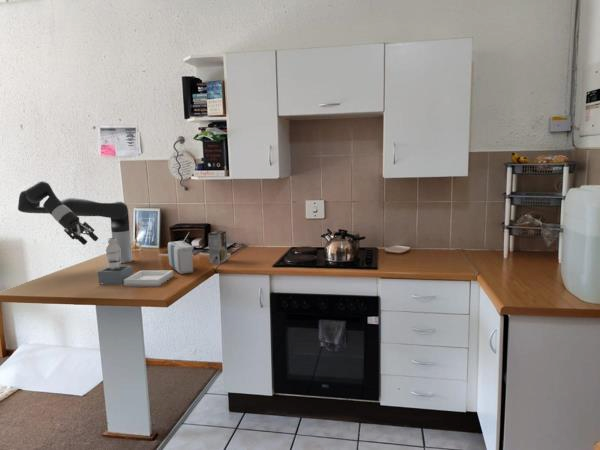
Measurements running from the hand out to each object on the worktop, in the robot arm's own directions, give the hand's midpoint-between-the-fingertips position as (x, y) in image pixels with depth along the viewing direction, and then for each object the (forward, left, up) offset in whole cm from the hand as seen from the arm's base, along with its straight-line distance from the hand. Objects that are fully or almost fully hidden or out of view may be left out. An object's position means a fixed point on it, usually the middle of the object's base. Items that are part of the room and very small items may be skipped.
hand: (91, 241), depth 195 cm
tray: (+26, +1, -19) cm, 32 cm away
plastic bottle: (+10, +1, -19) cm, 21 cm away
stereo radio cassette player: (+33, +22, -19) cm, 44 cm away
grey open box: (+10, +1, -19) cm, 21 cm away
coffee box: (+47, +39, -19) cm, 64 cm away
